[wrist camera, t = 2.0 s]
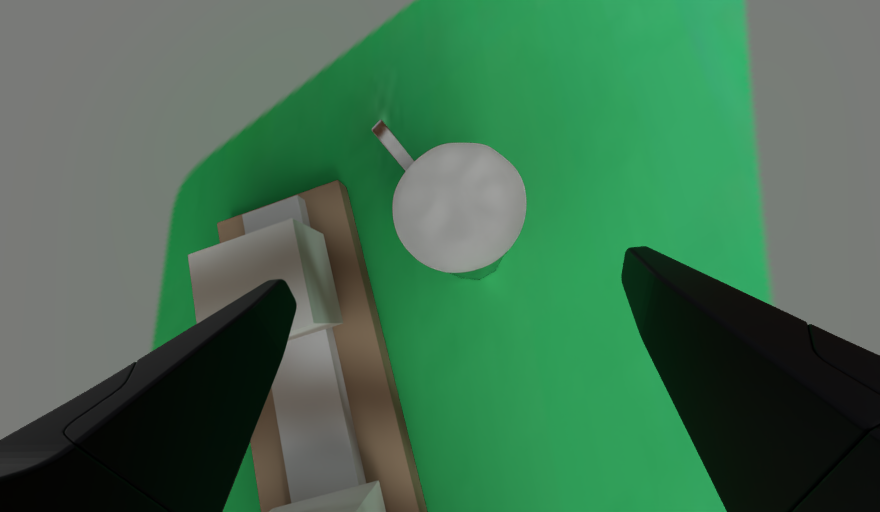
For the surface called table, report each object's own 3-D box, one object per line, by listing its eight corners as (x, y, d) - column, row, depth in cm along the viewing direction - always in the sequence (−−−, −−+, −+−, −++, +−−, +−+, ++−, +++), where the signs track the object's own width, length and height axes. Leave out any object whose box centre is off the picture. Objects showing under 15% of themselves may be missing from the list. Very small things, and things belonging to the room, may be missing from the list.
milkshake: (459, 189, 20) (426, 69, 11) (531, 247, 19) (567, 171, 9) (407, 246, 20) (325, 177, 11) (476, 309, 19) (455, 296, 9)
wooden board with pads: (460, 645, 16) (445, 782, 11) (304, 678, 17) (228, 820, 12) (346, 187, 22) (303, 148, 17) (231, 228, 22) (158, 202, 18)
